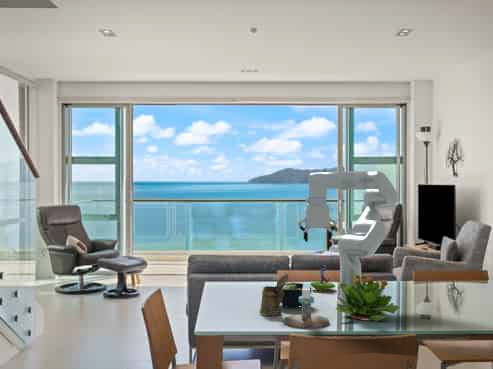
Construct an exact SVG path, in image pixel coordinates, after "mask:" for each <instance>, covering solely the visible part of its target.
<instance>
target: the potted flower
mask: <svg viewBox="0 0 493 369" xmlns="http://www.w3.org/2000/svg"><path fill="white" fill-rule="evenodd" d="M358 277H359V278H358ZM360 278H361V280H360ZM353 283H354V284H356V285H355V286H357V287H356V288H355V286H354V285H352V287H351V285H346V284H345V283H344V284H343V283H341V284H340V283H339V289H340V288H342V289H343V292H344V293H345V297H346V302H345V301H344V300H342V299H341V298H340V296H336V298H337V300H339V301H340V302H341V303H342V304H343V305H344V306H341V305H340V306H336V308H335V310H336V311H339V312H341V313H345V314H349V315H350V317H351V318H352V319H353V318H355V319H354V320H356V319H371V320H370V321H372V320H374V321H373V322H379V321H381V320H383V319H387V318H388V317H389V316H388V314H387V313H389V314H392V315H395V313H396V311H397V310H399V309H400V306H399V305H394V304H395V303H394V302H391V299H392V298H393V297H392V296H391V295H386V294H383V292H384V290H386V289H385V288H386V286H388V285H389V283H388V280H387V279H380V281H379V280H378V279H377V280H375V281H374V280H373V277H369V276H368V277H367V276H366V274H365V273H363V274H362V273H361V277H360V275H355V280H353ZM360 283H361V284H360ZM340 286H341V287H340ZM390 302H391V303H390Z"/></svg>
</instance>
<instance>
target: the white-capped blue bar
mask: <svg viewBox="0 0 493 369" xmlns="http://www.w3.org/2000/svg"><path fill="white" fill-rule="evenodd" d="M302 284H303V289H302V296H300V297H299V303H304V304H310V303H311V304H313V303H315V297H314V296H311V294H310V287H311V285H310V284H311V283H302Z"/></svg>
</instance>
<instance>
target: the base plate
mask: <svg viewBox="0 0 493 369" xmlns="http://www.w3.org/2000/svg"><path fill="white" fill-rule="evenodd" d="M284 323H285V324H287V325H289V326H288V327H290V326H292V327H291V328H295V327H296V328H297V329H306V328H311V329H320V328H319V327H322V328H325V327H327V326H326V325H328V324H329V325H330V320H329V318H328V317H325V316H322V315H318V314H317V315H315V314H312V303H310V304H304V303H302V307H301V311H300V314H292V315H288V316H285V317H284V318H283V324H284ZM285 324H284V325H285ZM287 325H286V326H287ZM329 325H328V326H329ZM324 326H325V327H324Z"/></svg>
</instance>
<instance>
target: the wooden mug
mask: <svg viewBox="0 0 493 369" xmlns="http://www.w3.org/2000/svg"><path fill="white" fill-rule="evenodd" d="M288 280H289V274H288V273H285V274H284V275H283V276H281V277H280V278H279V279H278V281H277V283H276V285H275V286H276V287H275V286H271V285H270V286H269V285H268V286H267V285H266V286H264V287H262V288H263V289H262V291H261V294H262V295H261V296H262V297H261V303H260V309H259V313H261V314H265V315H277V314H280V315H281V314H282V309H281V304H282V303H281V301H282V299H283V295H284V293H283V289H282V286H283V285H284V284H287V283H288V282H287V281H288ZM279 294H280V297H279V296H278V295H279ZM277 316H278V315H277Z"/></svg>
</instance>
